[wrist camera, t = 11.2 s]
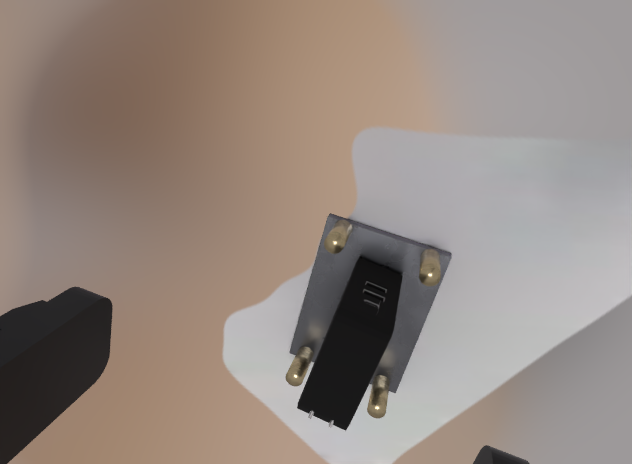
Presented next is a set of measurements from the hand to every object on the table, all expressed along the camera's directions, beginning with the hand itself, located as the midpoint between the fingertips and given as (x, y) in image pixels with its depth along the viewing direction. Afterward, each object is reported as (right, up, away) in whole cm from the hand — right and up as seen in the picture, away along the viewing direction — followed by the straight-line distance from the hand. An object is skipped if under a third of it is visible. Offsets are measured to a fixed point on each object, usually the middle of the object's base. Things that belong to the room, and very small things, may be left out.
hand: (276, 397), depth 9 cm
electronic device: (+5, -4, +32) cm, 33 cm away
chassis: (+5, -3, +33) cm, 34 cm away
